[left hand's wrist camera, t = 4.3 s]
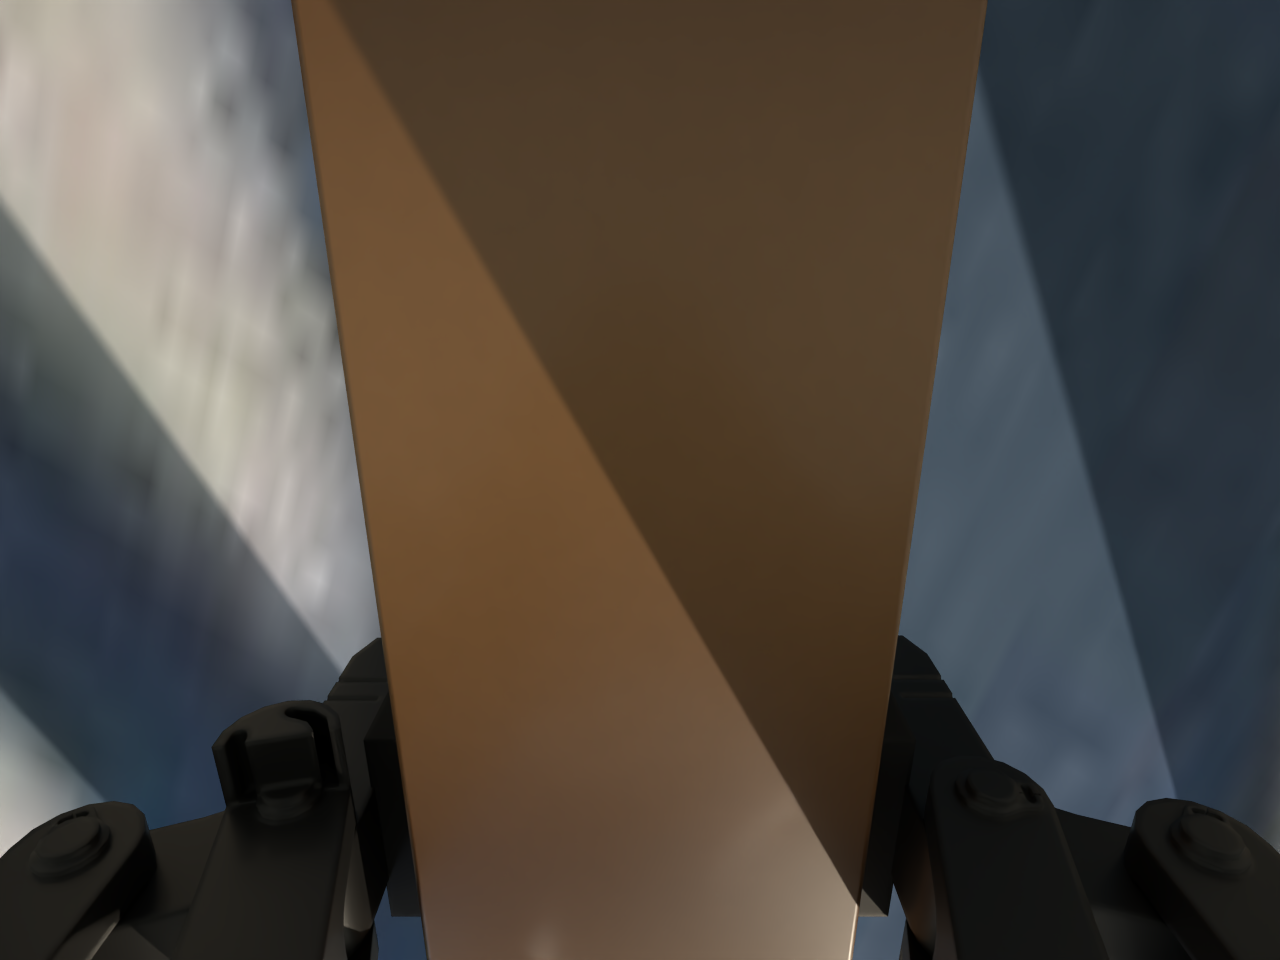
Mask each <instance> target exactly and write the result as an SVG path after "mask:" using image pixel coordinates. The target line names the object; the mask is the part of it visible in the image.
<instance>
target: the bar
mask: <svg viewBox="0 0 1280 960" xmlns="http://www.w3.org/2000/svg"><path fill="white" fill-rule="evenodd" d="M987 2H988V0H291V3H292V10H293V17H294V24H295V31H296V38H297V45H298V52H299V59H300V66H301V73H302V80H303V87H304V95H305V102H306V109H307V116H308V123H309V130H310V137H311V144H312V151H313V158H314V165H315V172H316V179H317V186H318V193H319V200H320V207H321V215H322V222H323V229H324V236H325V243H326V250H327V257H328V264H329V271H330V278H331V285H332V292H333V299H334V306H335V313H336V320H337V328H338V335H339V342H340V349H341V356H342V363H343V370H344V377H345V384H346V391H347V398H348V405H349V412H350V419H351V426H352V433H353V440H354V448H355V455H356V462H357V469H358V476H359V483H360V490H361V497H362V504H363V511H364V518H365V525H366V532H367V539H368V546H369V553H370V560H371V568H372V575H373V582H374V589H375V596H376V603H377V610H378V617H379V624H380V631H381V638H382V645H383V652H384V659H385V666H386V673H387V681H388V688H389V695H390V702H391V709H392V716H393V723H394V730H395V737H396V744H397V751H398V758H399V765H400V772H401V779H402V786H403V793H404V801H405V808H406V815H407V822H408V829H409V836H410V843H411V850H412V857H413V864H414V871H415V878H416V885H417V892H418V899H419V906H420V914H421V921H422V928H423V935H424V942H425V949H426V956H427V960H852V957H853V950H854V943H855V936H856V929H857V922H858V915H859V908H860V901H861V894H862V886H863V879H864V872H865V865H866V858H867V851H868V844H869V837H870V830H871V823H872V816H873V809H874V802H875V794H876V787H877V780H878V773H879V766H880V759H881V752H882V745H883V738H884V731H885V724H886V717H887V709H888V702H889V695H890V688H891V681H892V674H893V667H894V660H895V653H896V646H897V639H898V632H899V625H900V617H901V610H902V603H903V596H904V589H905V582H906V575H907V568H908V561H909V554H910V547H911V540H912V532H913V525H914V518H915V511H916V504H917V497H918V490H919V483H920V476H921V469H922V462H923V455H924V448H925V440H926V433H927V426H928V419H929V412H930V405H931V398H932V391H933V384H934V377H935V370H936V363H937V356H938V348H939V341H940V334H941V327H942V320H943V313H944V306H945V299H946V292H947V285H948V278H949V271H950V263H951V256H952V249H953V242H954V235H955V228H956V221H957V214H958V207H959V200H960V193H961V186H962V179H963V171H964V164H965V157H966V150H967V143H968V136H969V129H970V122H971V115H972V108H973V101H974V94H975V86H976V79H977V72H978V65H979V58H980V51H981V44H982V37H983V30H984V23H985V16H986V9H987Z"/></svg>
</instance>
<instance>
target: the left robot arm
mask: <svg viewBox="0 0 1280 960" xmlns="http://www.w3.org/2000/svg"><path fill="white" fill-rule="evenodd" d="M212 751H213V755H214V759H215V763H216V767H217V771H218V775H219V779H220V783H221V787H222V791H223V795H224V799H225V803H226V809H225V811H223V812H220V813H216V814H213V815H210V816H207V817H203V818H199V819H195V820H191V821H187V822H182V823H178V824H174V825H170V826H165V827H161V828H157V829H153V830H149V828H148V825H147V821H146V818H145V815H144V814H143V813H142V812H141V811H140V810H139V809H138V808H137V807H136V806H134V805H133V804H128V803H122V802H116V801H111V802H104V803H96V804H89V805H86V806H83V807H80V808H77V809H74V810H71V811H68V812H66V813H63V814H60V815H58V816H56V817H55V818H53V819H51V820H49V821H47V822H46V823H44V824H42V825H40V826H38V827H36V828H35V829H33V830H32V831H30V832H29V833H28V834H27V835H26V836H24V837H23V838H22V839H21V840H19V841H18V842H17V843H16V844H15V845H13V846H12V847H11V848H10V849H9V850H8V851H7V852H6V853H5V854H4V855H3V856H2V857H1V858H0V960H378V951H379V947H378V940H377V933H376V927H375V921H374V918H375V915H376V913H377V910H378V907H379V905H380V902H381V899H382V896H383V894H384V891H385V888H386V886H387V891H388V897H389V903H390V910H391V916H421V914H420V906H419V899H418V892H417V885H416V878H415V871H414V864H413V857H412V850H411V843H410V836H409V829H408V822H407V815H406V808H405V801H404V793H403V786H402V779H401V772H400V765H399V758H398V751H397V744H396V737H395V730H394V723H393V716H392V709H391V702H390V695H389V688H388V681H387V673H386V666H385V659H384V652H383V645H382V638H376V639H375V640H374V641H372V642H371V643H370V644H368V645H367V646H366V647H364V648H363V649H362V650H360V651H359V652H358V653H356V654H355V655H354V656H353V657H352V658H351V660H350V661H349V663H348V665H347V666H346V668H345V669H344V671H343V672H342V674H341V676H340V677H339V682H336V684H335V685H334V687H333V688H332V690H331V692H330V693H329V695H328V700H327V701H324V703H319V702H315V701H312V700H302V701H286V702H282V703H278V704H274V705H270V706H265V707H263V708H261V709H259V710H256V711H254V712H252V713H250V714H248V715H245V716H243V717H241V718H240V719H239V720H237V721H236V722H235V723H233V724H232V725H231V726H229V727H228V728H227V729H225V730H224V731H223V732H222V733H221V735H220V736H219V738H218V739H217V740H216V742H215V743H214V744H213V746H212ZM893 883H894V886H895V889H896V891H897V894H898V897H899V899H900V902H901V905H902V908H903V910H904V913H905V916H906V921H905V927H904V933H903V939H902V945H901V950H900V956H899V960H1280V854H1279V853H1278V852H1277V851H1276V850H1275V849H1274V848H1273V847H1272V846H1271V845H1270V844H1269V843H1268V842H1266V841H1265V840H1264V839H1263V838H1261V837H1260V836H1259V835H1258V834H1257V833H1255V832H1254V831H1253V830H1252V829H1250V828H1249V827H1248V826H1246V825H1244V824H1243V823H1241V822H1239V821H1237V820H1235V819H1234V818H1232V817H1230V816H1228V815H1226V814H1224V813H1223V812H1221V811H1218V810H1215V809H1213V808H1210V807H1207V806H1204V805H1201V804H1198V803H1195V802H1192V801H1185V800H1178V799H1170V798H1164V799H1158V800H1152V801H1147V802H1146V803H1145V804H1143V805H1142V806H1141V807H1140V808H1139V809H1138V810H1137V811H1136V813H1135V816H1134V819H1133V823H1132V826H1131V827H1127V826H1123V825H1119V824H1115V823H1110V822H1106V821H1102V820H1098V819H1093V818H1089V817H1085V816H1081V815H1077V814H1073V813H1070V812H1067V811H1064V810H1060V809H1057V808H1055V807H1054V805H1053V804H1052V802H1051V801H1050V799H1049V797H1048V796H1047V794H1046V793H1045V791H1044V789H1043V788H1042V787H1040V786H1039V785H1038V784H1037V783H1036V782H1034V781H1033V780H1032V779H1031V778H1030V777H1029V776H1027V775H1026V774H1025V773H1023V772H1021V771H1019V770H1017V769H1015V768H1013V767H1011V766H1009V765H1007V764H1005V763H1003V762H1000V761H996V760H994V759H993V757H992V756H991V754H990V752H989V751H988V749H987V748H986V746H985V744H984V743H983V741H982V740H981V738H980V737H979V735H978V733H977V732H976V730H975V729H974V727H973V726H972V724H971V722H970V721H969V719H968V718H967V716H966V714H965V713H964V711H963V710H962V708H961V707H960V705H959V703H958V702H957V700H956V699H955V698H953V697H952V692H951V691H950V689H949V688H948V686H947V684H946V683H945V681H944V680H941V675H940V673H939V672H938V670H937V669H936V667H935V665H934V664H933V662H932V661H931V659H930V658H929V656H928V654H927V653H925V652H924V651H923V650H921V649H920V648H919V647H917V646H916V645H915V644H913V643H912V642H911V641H909V640H908V639H907V638H905V637H904V636H898V639H897V646H896V653H895V660H894V667H893V674H892V681H891V688H890V695H889V702H888V709H887V717H886V724H885V731H884V738H883V745H882V752H881V759H880V766H879V773H878V780H877V787H876V794H875V802H874V809H873V816H872V823H871V830H870V837H869V844H868V851H867V858H866V865H865V872H864V879H863V886H862V894H861V901H860V908H859V915H858V916H888V913H889V907H890V900H891V894H892V888H893Z"/></svg>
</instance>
